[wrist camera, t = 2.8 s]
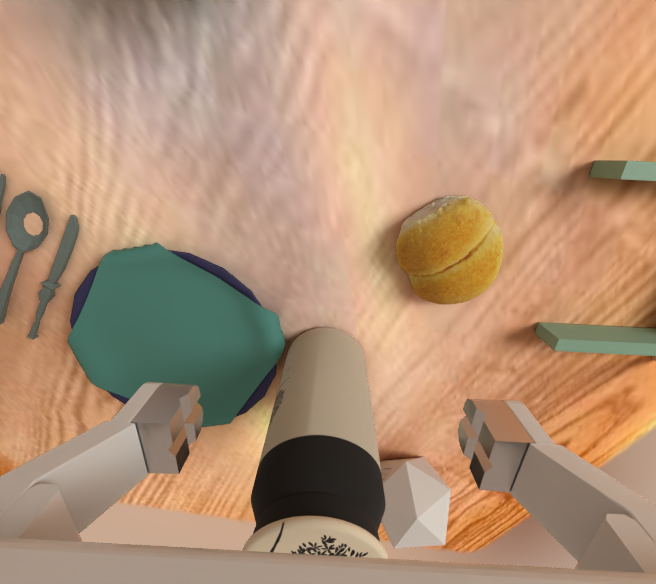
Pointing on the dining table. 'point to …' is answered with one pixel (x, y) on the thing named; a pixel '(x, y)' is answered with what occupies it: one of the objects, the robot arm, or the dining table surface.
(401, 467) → the die
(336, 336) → the travel mug
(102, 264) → the cutlery set
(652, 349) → the green pocket
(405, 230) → the bread roll
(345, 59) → the dining table surface
